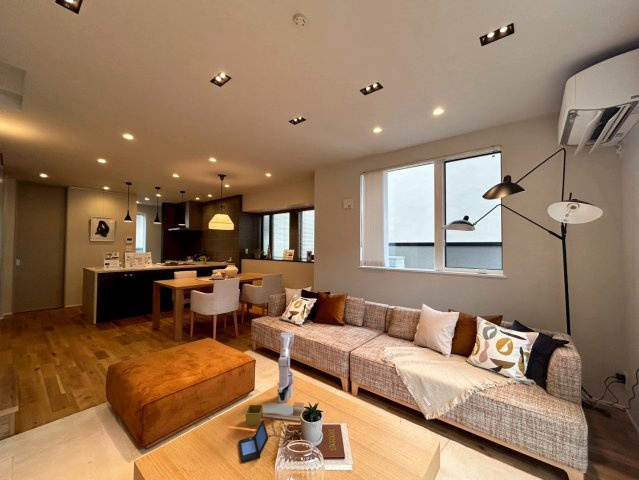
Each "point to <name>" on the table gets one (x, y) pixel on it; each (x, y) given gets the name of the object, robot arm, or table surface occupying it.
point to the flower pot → (253, 414)
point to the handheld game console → (253, 444)
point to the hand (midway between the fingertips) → (283, 398)
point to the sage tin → (285, 397)
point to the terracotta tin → (298, 408)
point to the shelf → (279, 412)
